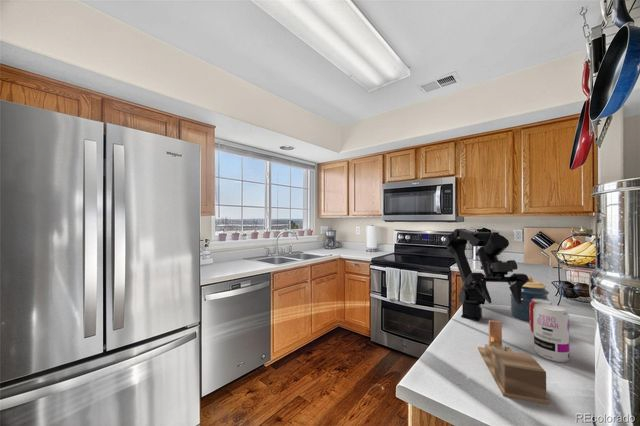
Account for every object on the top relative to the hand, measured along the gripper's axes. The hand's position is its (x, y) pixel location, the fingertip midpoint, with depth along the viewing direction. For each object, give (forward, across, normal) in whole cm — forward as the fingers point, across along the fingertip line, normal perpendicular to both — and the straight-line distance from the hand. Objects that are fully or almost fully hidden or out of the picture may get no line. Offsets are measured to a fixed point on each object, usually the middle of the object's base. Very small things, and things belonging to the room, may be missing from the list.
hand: (504, 303), depth 87 cm
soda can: (+6, +18, +16) cm, 25 cm away
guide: (+21, -9, -6) cm, 23 cm away
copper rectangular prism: (+18, -8, -3) cm, 20 cm away
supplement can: (+15, +10, +3) cm, 18 cm away
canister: (-4, +25, +29) cm, 39 cm away
